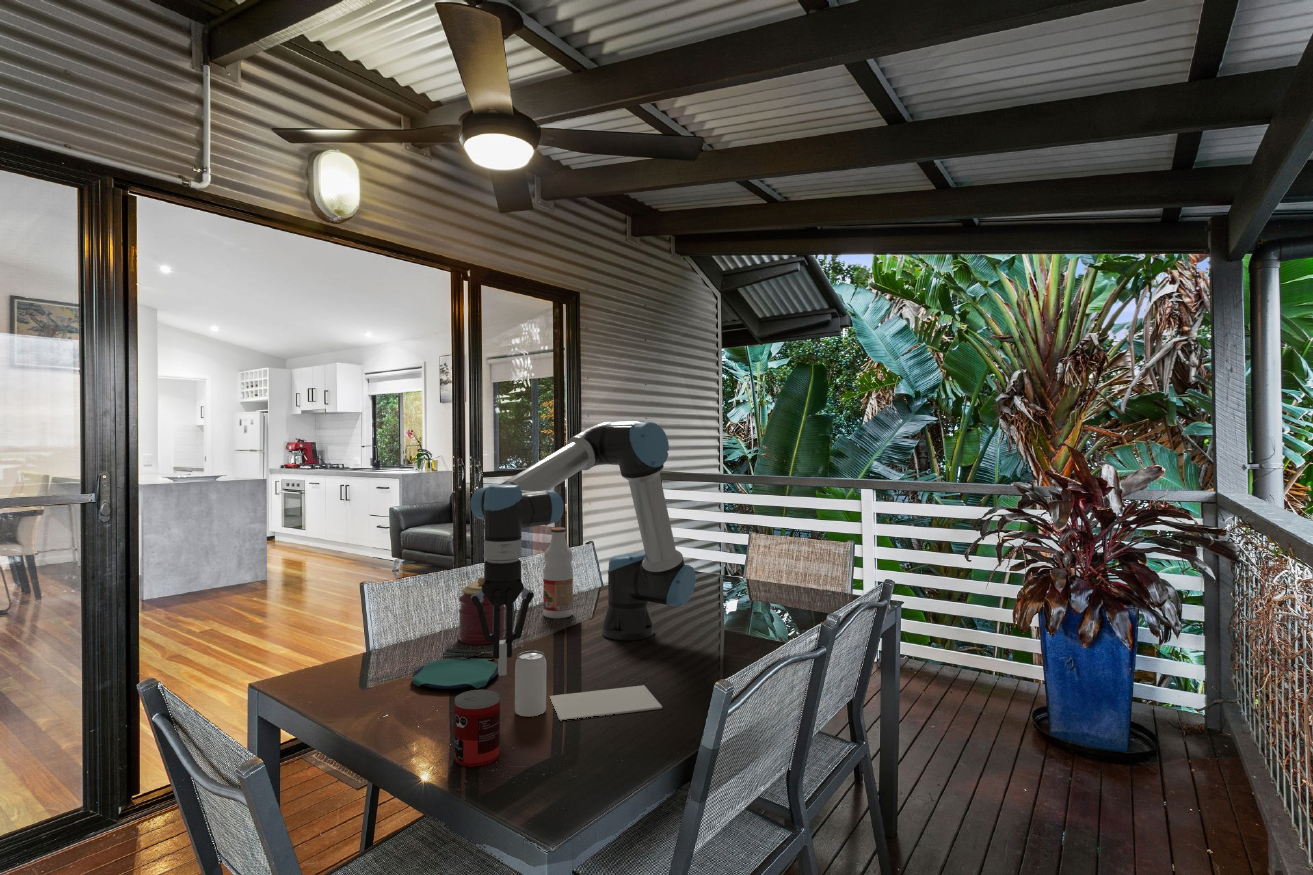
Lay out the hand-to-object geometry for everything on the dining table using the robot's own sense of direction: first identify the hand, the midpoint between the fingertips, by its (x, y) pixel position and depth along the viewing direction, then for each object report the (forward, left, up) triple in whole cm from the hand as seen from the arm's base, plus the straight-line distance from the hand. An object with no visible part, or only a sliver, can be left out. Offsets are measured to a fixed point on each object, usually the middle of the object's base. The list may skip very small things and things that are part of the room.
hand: (502, 673), depth 142 cm
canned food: (+18, -6, -9) cm, 21 cm away
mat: (0, +22, -9) cm, 24 cm away
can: (0, +6, -9) cm, 11 cm away
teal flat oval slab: (-30, -7, -10) cm, 32 cm away
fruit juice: (-74, +25, -9) cm, 79 cm away
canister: (-55, 0, -9) cm, 56 cm away
